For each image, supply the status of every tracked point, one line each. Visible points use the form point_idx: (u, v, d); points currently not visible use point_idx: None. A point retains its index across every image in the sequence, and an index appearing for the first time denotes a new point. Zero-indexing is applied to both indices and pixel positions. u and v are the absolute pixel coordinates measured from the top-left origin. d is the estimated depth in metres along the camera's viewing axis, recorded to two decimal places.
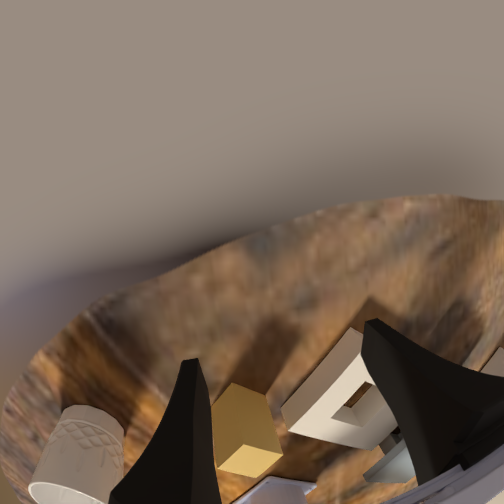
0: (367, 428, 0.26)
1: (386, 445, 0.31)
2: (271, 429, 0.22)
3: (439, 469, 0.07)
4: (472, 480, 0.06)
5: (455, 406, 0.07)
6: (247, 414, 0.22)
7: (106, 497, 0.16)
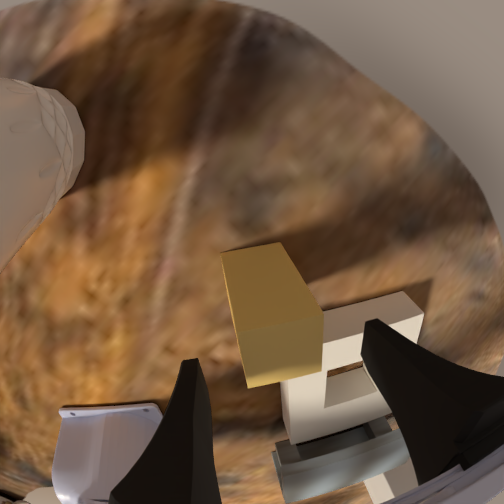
0: (324, 413, 0.23)
1: (285, 450, 0.28)
2: None
3: (439, 469, 0.07)
4: (472, 480, 0.06)
5: (455, 406, 0.07)
6: None
7: (4, 230, 0.07)
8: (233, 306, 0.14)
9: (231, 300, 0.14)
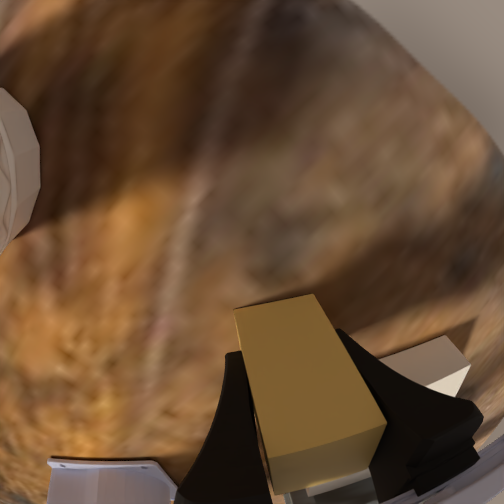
0: None
1: (299, 495, 0.23)
2: None
3: (395, 491, 0.07)
4: (472, 480, 0.06)
5: (406, 430, 0.07)
6: None
7: None
8: (258, 410, 0.09)
9: (255, 398, 0.09)
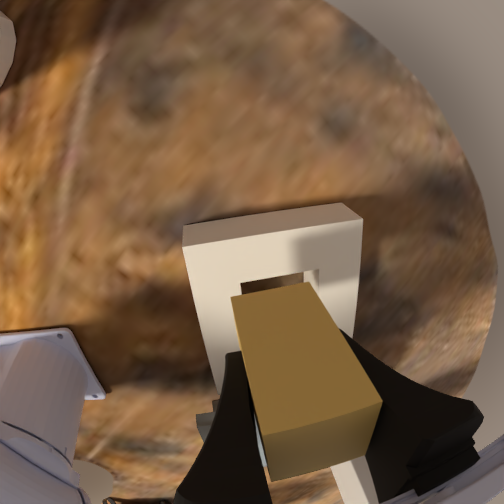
0: None
1: None
2: None
3: (395, 491, 0.07)
4: (472, 480, 0.06)
5: (406, 430, 0.07)
6: None
7: None
8: (253, 389, 0.09)
9: (250, 378, 0.10)
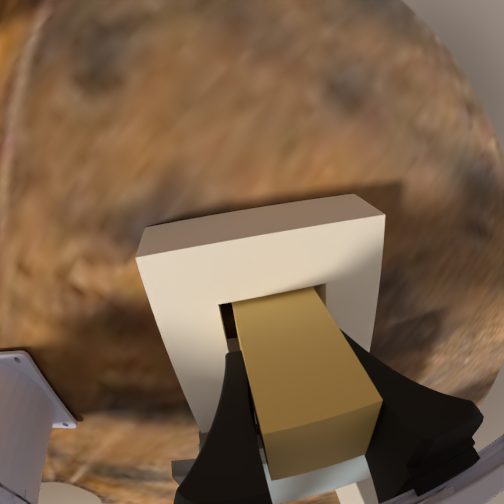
0: None
1: None
2: None
3: (395, 491, 0.07)
4: (472, 480, 0.06)
5: (405, 430, 0.07)
6: None
7: None
8: (253, 388, 0.09)
9: (250, 377, 0.10)
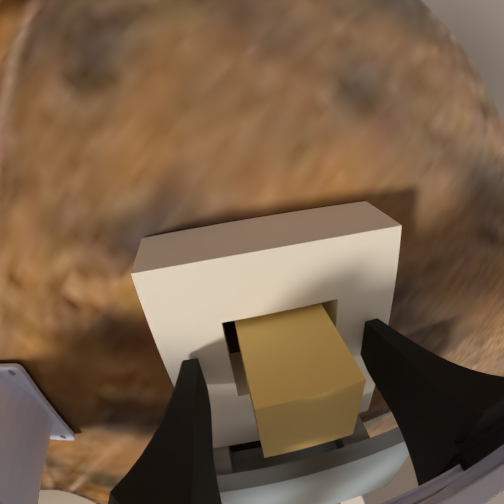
0: (241, 405, 0.14)
1: (213, 456, 0.20)
2: None
3: (439, 469, 0.07)
4: (472, 480, 0.06)
5: (455, 406, 0.07)
6: None
7: None
8: (247, 367, 0.10)
9: (244, 358, 0.11)
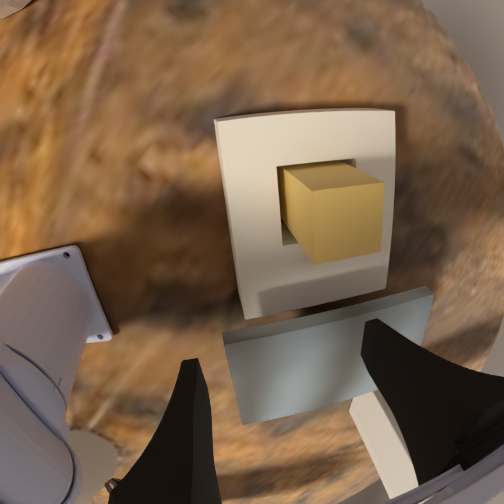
0: (284, 257, 0.19)
1: None
2: None
3: (439, 469, 0.07)
4: (472, 480, 0.06)
5: (455, 406, 0.07)
6: None
7: None
8: (301, 180, 0.15)
9: (297, 178, 0.15)
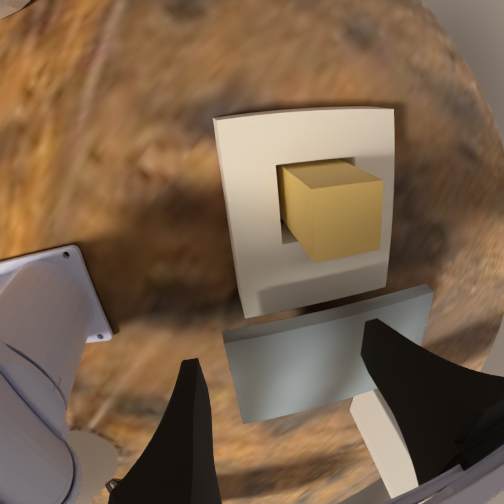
0: (284, 256, 0.19)
1: None
2: None
3: (439, 469, 0.07)
4: (472, 480, 0.06)
5: (455, 406, 0.07)
6: None
7: None
8: (299, 178, 0.15)
9: (296, 176, 0.15)
